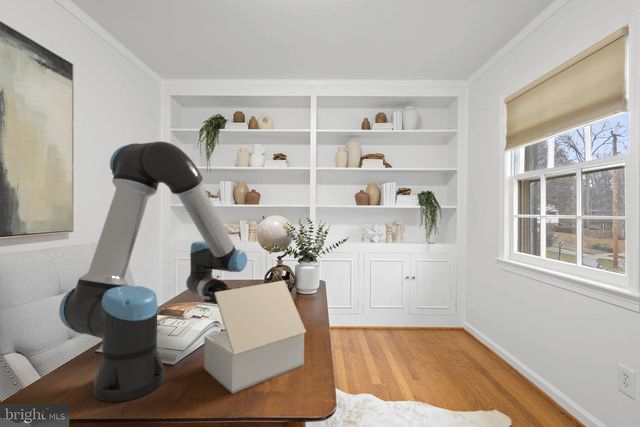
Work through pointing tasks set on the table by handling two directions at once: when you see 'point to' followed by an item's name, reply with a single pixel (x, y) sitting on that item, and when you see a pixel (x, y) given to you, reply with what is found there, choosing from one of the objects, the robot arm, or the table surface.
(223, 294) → the lid flap
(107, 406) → the table surface
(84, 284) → the robot arm
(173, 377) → the table surface
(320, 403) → the table surface
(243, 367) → the mailer box
